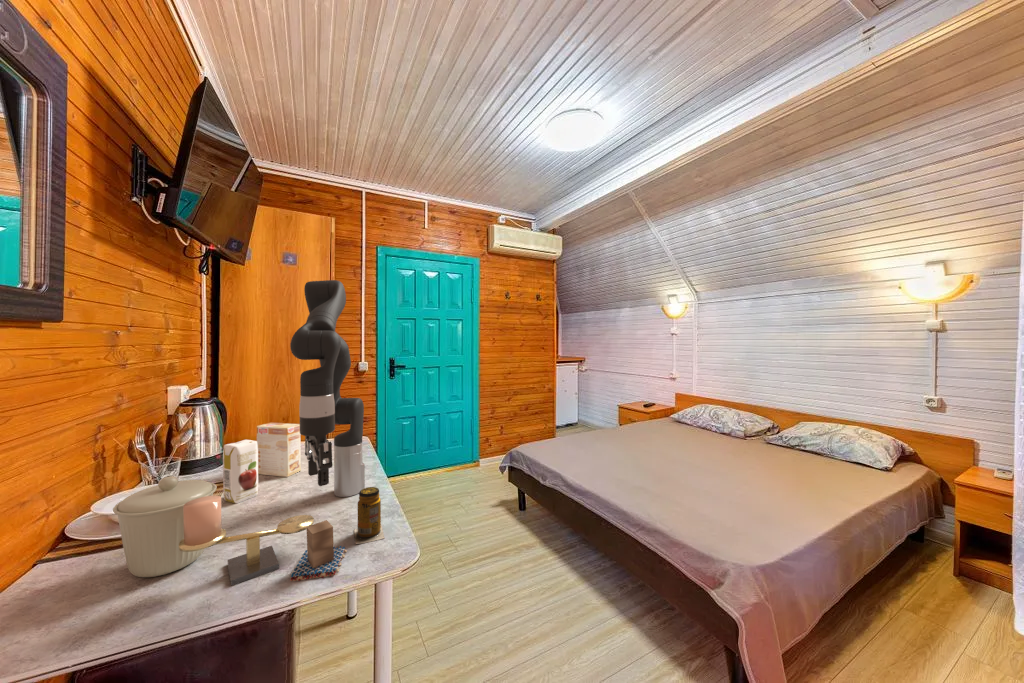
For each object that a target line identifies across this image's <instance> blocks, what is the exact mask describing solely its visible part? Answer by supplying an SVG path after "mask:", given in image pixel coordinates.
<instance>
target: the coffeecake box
mask: <svg viewBox="0 0 1024 683" xmlns="http://www.w3.org/2000/svg"><path fill="white" fill-rule="evenodd" d="M256 441H257V446H258V475H263V476H273V477H284V478H288V477H291V476H293V475H295V473H296V474H298V473H299V471H300V472H302V466H301V465H302V463H301V462H302V460H301V457H302V456H301V455H302V454H301V452H302V451H301V450H302V449H301V447H302V446H301V444H302V443H301V434H300V423H283V422H267V423H263V424H259V425H257V426H256ZM297 472H298V473H297Z"/></svg>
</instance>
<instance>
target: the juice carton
mask: <svg viewBox="0 0 1024 683" xmlns="http://www.w3.org/2000/svg"><path fill="white" fill-rule="evenodd" d="M222 451H223V454H222V471H223V472H222V474H223V475H222V476H223V482H222V483H223V498H224V501H226V502H228V503H232V504H240V503H242V502H244V501H247V500H249V499H252V498H255V497H257V496H258V493H259V474H258V446H257V440H251V439H243V440H242V439H241V440H240V441H237V442H231V443H227V444H224V445H223V450H222Z"/></svg>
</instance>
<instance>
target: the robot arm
mask: <svg viewBox="0 0 1024 683" xmlns="http://www.w3.org/2000/svg"><path fill="white" fill-rule="evenodd" d="M303 291H304V298H305V302H306V306H307V309H308V313H309V314H308V315H307V319H306V321H305V323H304V324H302V326H300V327H299V328H298V329H297V330H296V331H295V332H294V333H293V335H292V337H291V340H290V345H289V348H290V352H291V354H292V355H293V356H294V357H295V358H296V359H297V360H301V361H307V360H308V361H310V360H311V361H313V360H315V361H316V360H317V361H318V360H319V365H320V366H319V367H317V368H313V369H307V370H305V371H303V372H301V374H300V377H299V378H300V380H299V385H300V386H299V387H300V397H299V398H300V399H299V406H298V407H299V411H298V412H299V424H300V436H304V437H305V438H304V442H305V443H304V444H305V445H304V446H305V447H304V455H305V457H306V460H307V462H308V463H307V469H308V470H307V471H308V473H307V474H308V476H309V477H310V476H311V477H312V476H316V475H317V485H318V486H319V487H324V486H326V485H329V483H330V472H329V471H330V468H332V469H333V487H334V488H333V490H334V491H333V492H334V493H333V494H334V496H336V497H340V498H344V497H345V498H346V497H351V496H356V495H359V492H360V491H361V490H362V489H364V488H366V484H365V481H366V478H365V477H366V476H365V474H366V472H365V471H366V470H365V467H366V466H365V465H366V464H365V463H364V462H363V460H364V459H363V435H364V417H365V416H364V413H365V408H364V407H365V406H364V402H363V399H362V398H361V397H341V396H342V395H341V386H342V384H343V382H344V380H345V378H346V376H347V375H348V373H349V371H350V369H351V366H352V360H351V353H350V348H349V345H348V344H347V342H346V341H345V340H344V339H343V337H342V336H340V334H339V333H337V331H336V327H337V322H338V319H339V317H340V316H341V314H342V312H343V311H344V309H345V306H346V304H347V294H346V288H345V286H344V284H343V282H342V281H340V280H336V279H334V280H333V279H330V280H312V281H307V282H305V284H304V290H303ZM336 425H337V426H338V425H350V427H349V429H348V430H346V431H345V432H341V433H339V434H337V435H335V436H334V438H333V442H332V441H329V439H328V438H327V435H328V434H331V433H334V431H335V429H336ZM332 448H333V449H332ZM324 461H325V463H324Z"/></svg>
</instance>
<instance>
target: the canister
mask: <svg viewBox="0 0 1024 683" xmlns="http://www.w3.org/2000/svg"><path fill="white" fill-rule="evenodd" d="M216 491H217V485H216V483H214V482H210V481H208V480H207V481H206V480H203V479H201V480H200V479H186V480H185V479H184V480H183V479H182V480H179V478H178V477H176V476H172V475H171V476H165V477H162V478H161V479H160V480H159V481H158V483H157V485H154V486H150V487H148V488H145V489H144V488H143V489H141V490H139V491H137V492H135V493H133V494H130V495H129V496H127V497H126V498H124V499H123V500H121V501H120V502H117V504H115V505H114V507H113V509H112V512H113V513H114V514H115V515H116V516H117V519H118V524H119V531H120V536H121V542H122V548H123V551H124V557H125V562H126V565H127V569H128V571H129V572H130V574H132V575H133V576H135V577H137V578H138V577H139V578H155V577H160V576H163V575H164V576H165V575H167V574H171V573H173V572H176V571H178V570H180V569H183V568H185V567H187V566H188V565H190V564H192V563H193V562H195V561H196V560H197V559H198V558H199V557H201V555H202V554H203V552H204V551H205V549H202V550H198V551H192V552H183V551H180V550H179V543H180V541H181V540H183V539H184V515H183V506H184V504H186V503H187V502H189V501H191V500H194V499H197V498H201V497H205V496H214V493H215V492H216Z"/></svg>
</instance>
